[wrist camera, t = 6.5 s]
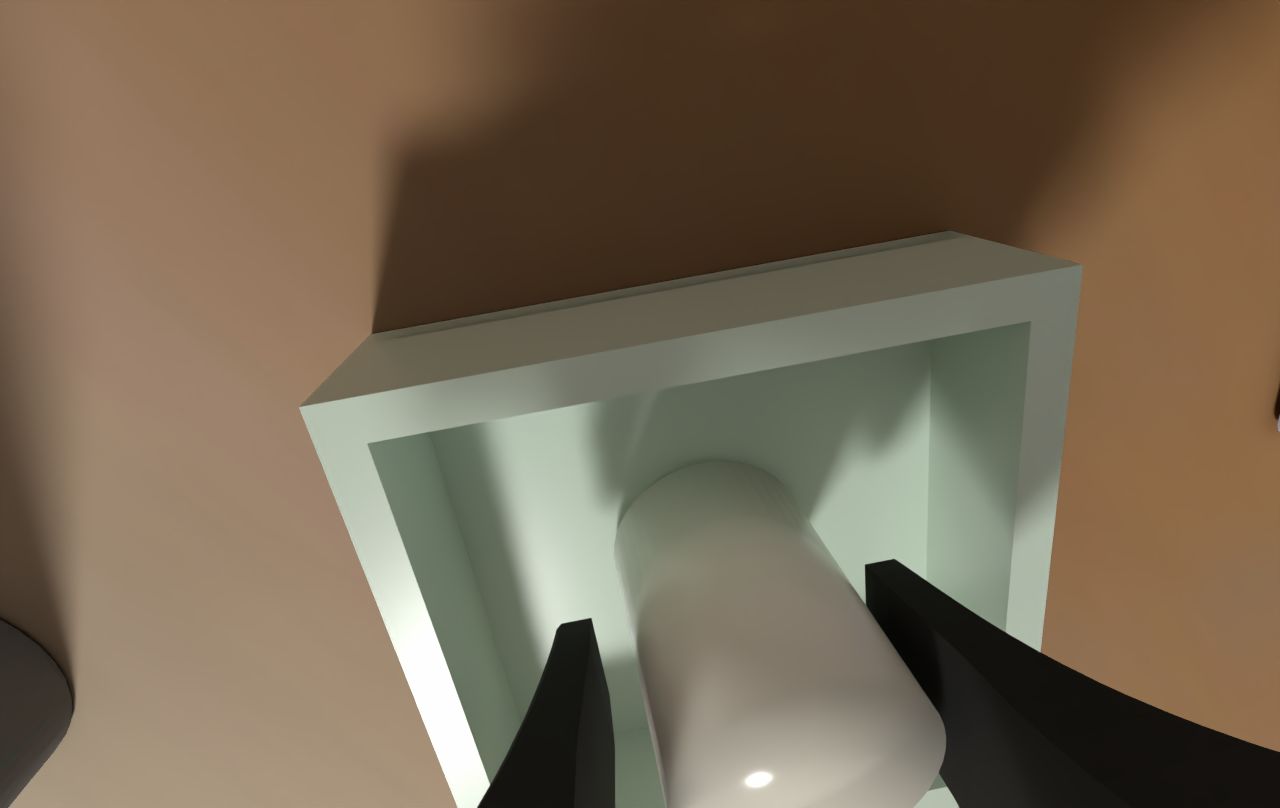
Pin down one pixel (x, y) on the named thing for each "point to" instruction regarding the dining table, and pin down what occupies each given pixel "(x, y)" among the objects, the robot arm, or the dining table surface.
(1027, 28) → the dining table surface
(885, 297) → the bin
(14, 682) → the bottle
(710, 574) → the white capsule cylinder
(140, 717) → the dining table surface
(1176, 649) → the dining table surface
